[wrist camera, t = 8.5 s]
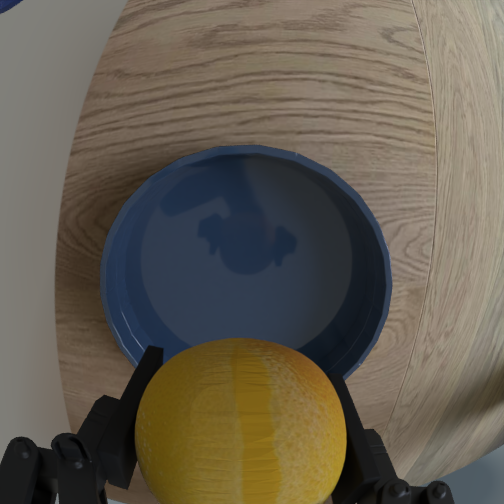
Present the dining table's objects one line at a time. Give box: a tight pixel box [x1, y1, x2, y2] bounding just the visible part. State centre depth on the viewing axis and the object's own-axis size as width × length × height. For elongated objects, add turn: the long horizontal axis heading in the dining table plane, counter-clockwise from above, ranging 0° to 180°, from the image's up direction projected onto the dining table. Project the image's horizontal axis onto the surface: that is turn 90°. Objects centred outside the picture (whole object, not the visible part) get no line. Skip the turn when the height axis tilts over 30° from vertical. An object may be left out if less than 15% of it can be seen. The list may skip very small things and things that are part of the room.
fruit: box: [135, 338, 346, 504], centre depth 10 cm, size 9×8×8 cm
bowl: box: [100, 145, 392, 381], centre depth 24 cm, size 23×23×5 cm
